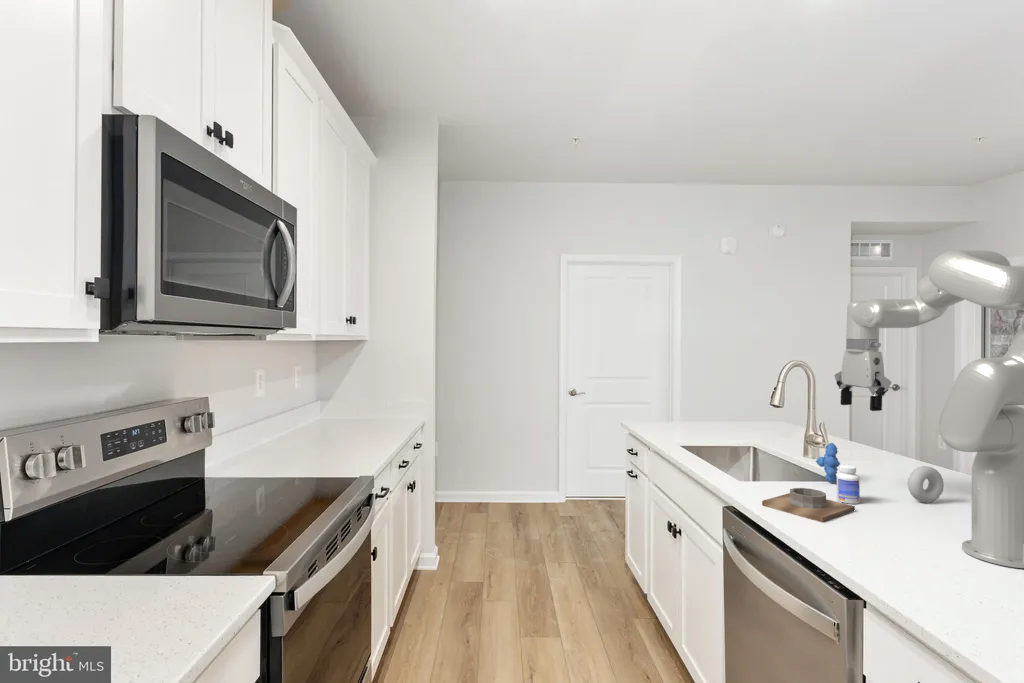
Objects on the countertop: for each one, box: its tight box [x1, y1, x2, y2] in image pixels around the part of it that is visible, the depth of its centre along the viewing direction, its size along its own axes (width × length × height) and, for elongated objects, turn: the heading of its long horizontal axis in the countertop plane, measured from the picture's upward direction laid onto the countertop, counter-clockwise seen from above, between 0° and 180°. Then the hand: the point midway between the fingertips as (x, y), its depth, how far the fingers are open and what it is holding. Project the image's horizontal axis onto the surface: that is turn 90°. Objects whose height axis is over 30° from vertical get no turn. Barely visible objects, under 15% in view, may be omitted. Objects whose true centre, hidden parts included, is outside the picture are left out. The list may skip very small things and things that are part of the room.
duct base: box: [761, 487, 856, 523], centre depth 142 cm, size 16×16×4 cm
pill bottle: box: [836, 464, 861, 505], centre depth 147 cm, size 5×5×10 cm
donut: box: [907, 465, 945, 503], centre depth 146 cm, size 10×4×10 cm, turn 99°
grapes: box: [815, 442, 841, 484], centre depth 168 cm, size 12×7×12 cm, turn 147°
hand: (860, 407), depth 146 cm, fingers open, 9 cm apart
